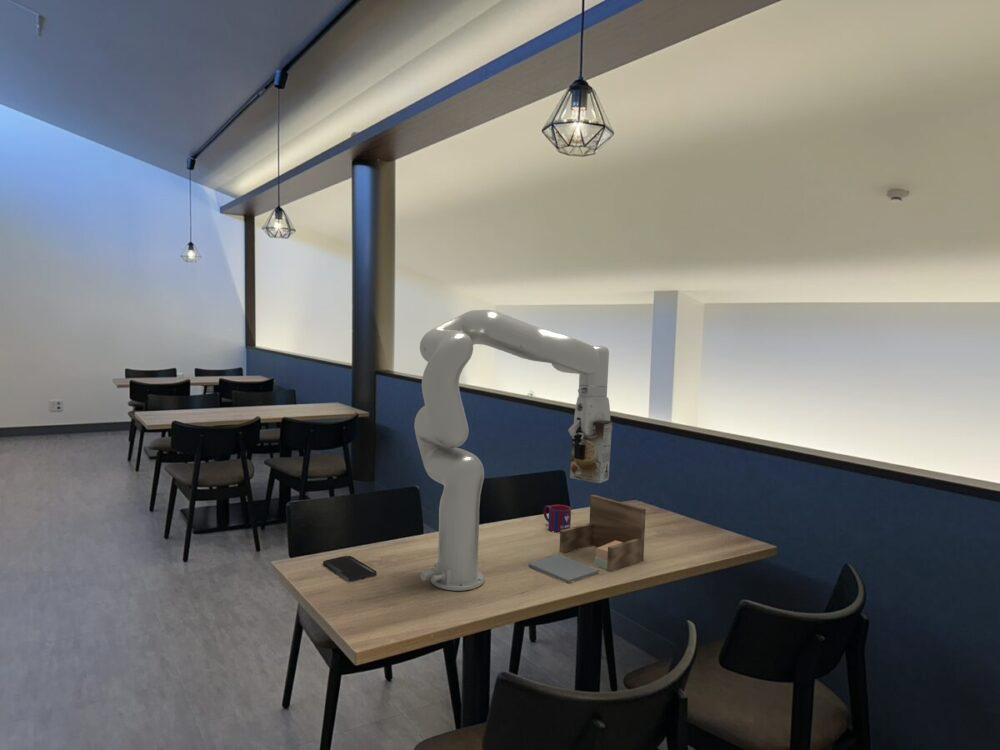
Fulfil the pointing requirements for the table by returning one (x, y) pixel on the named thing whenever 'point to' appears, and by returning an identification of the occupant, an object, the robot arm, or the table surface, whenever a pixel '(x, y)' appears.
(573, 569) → the mat
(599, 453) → the coffee box
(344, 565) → the phone
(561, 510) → the mug
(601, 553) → the offcut upper
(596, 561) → the offcut lower
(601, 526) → the rack
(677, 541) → the table surface
